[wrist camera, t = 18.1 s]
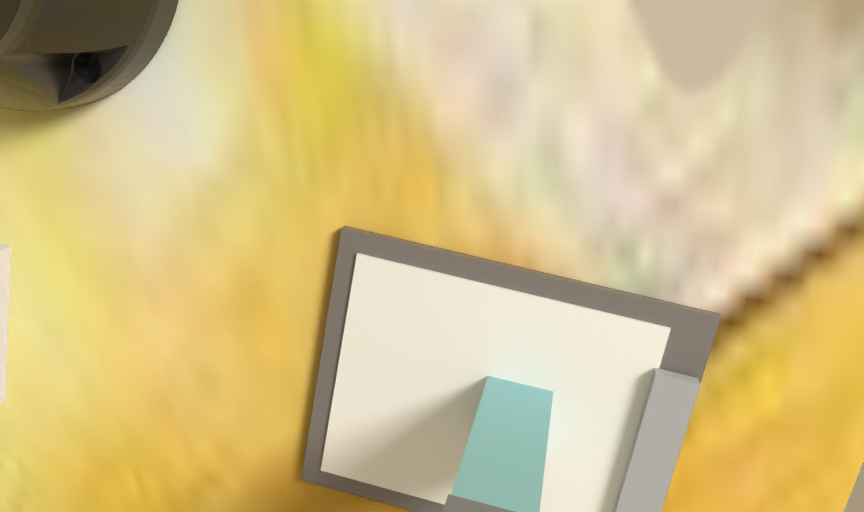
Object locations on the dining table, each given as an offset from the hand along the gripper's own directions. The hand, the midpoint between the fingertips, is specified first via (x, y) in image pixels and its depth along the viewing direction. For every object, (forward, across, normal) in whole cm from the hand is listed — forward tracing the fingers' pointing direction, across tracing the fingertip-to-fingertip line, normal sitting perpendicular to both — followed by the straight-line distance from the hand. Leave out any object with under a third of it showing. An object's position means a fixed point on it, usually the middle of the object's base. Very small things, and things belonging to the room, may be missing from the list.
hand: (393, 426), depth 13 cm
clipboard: (+27, +1, -12) cm, 29 cm away
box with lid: (+26, +2, -12) cm, 29 cm away
